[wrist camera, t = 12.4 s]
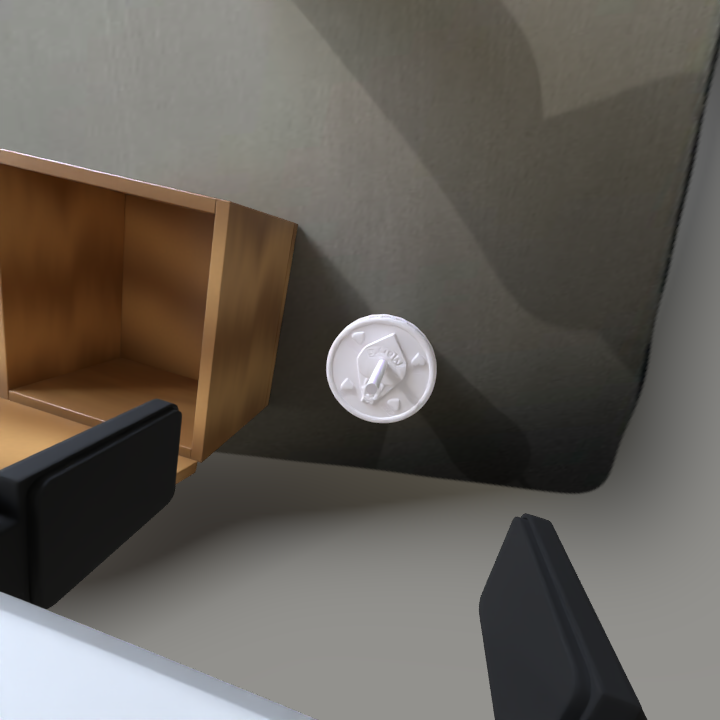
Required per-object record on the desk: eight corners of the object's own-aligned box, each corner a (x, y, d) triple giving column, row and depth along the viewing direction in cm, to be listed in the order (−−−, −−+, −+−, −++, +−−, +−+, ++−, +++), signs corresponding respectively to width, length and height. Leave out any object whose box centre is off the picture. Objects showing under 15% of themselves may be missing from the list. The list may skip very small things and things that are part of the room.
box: (125, 183, 30) (-20, 143, 20) (298, 224, 28) (230, 201, 19) (119, 360, 35) (-1, 397, 25) (268, 404, 33) (201, 463, 23)
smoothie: (446, 317, 28) (464, 362, 15) (416, 387, 30) (407, 484, 17) (371, 288, 29) (323, 307, 15) (345, 360, 31) (283, 432, 17)
